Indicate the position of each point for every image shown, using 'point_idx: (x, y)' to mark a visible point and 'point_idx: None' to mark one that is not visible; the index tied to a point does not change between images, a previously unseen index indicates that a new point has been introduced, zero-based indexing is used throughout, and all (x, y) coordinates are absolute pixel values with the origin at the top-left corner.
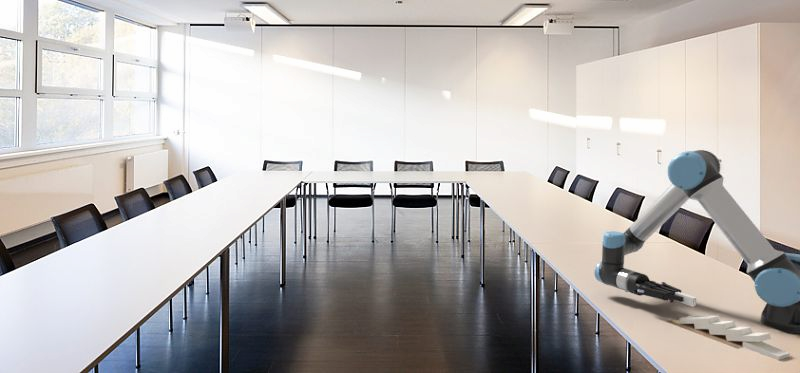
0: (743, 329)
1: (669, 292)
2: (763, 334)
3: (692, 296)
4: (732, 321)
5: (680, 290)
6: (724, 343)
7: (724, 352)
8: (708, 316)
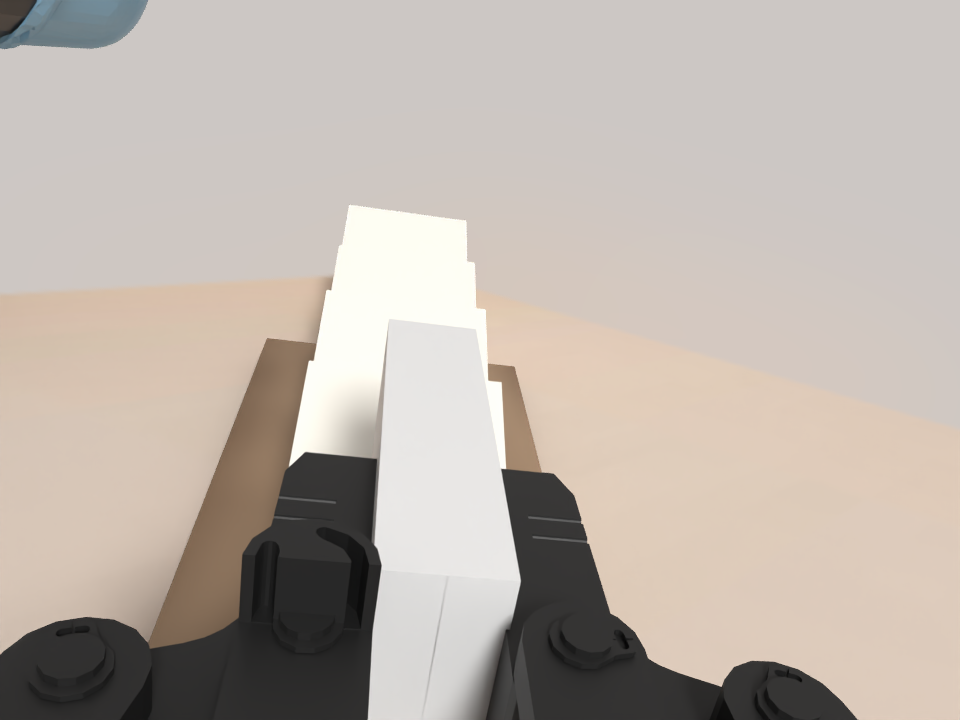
0: (433, 260)
1: (653, 693)
2: (410, 214)
3: (389, 351)
4: (346, 296)
5: (90, 632)
6: (525, 412)
7: (609, 408)
8: (345, 439)
